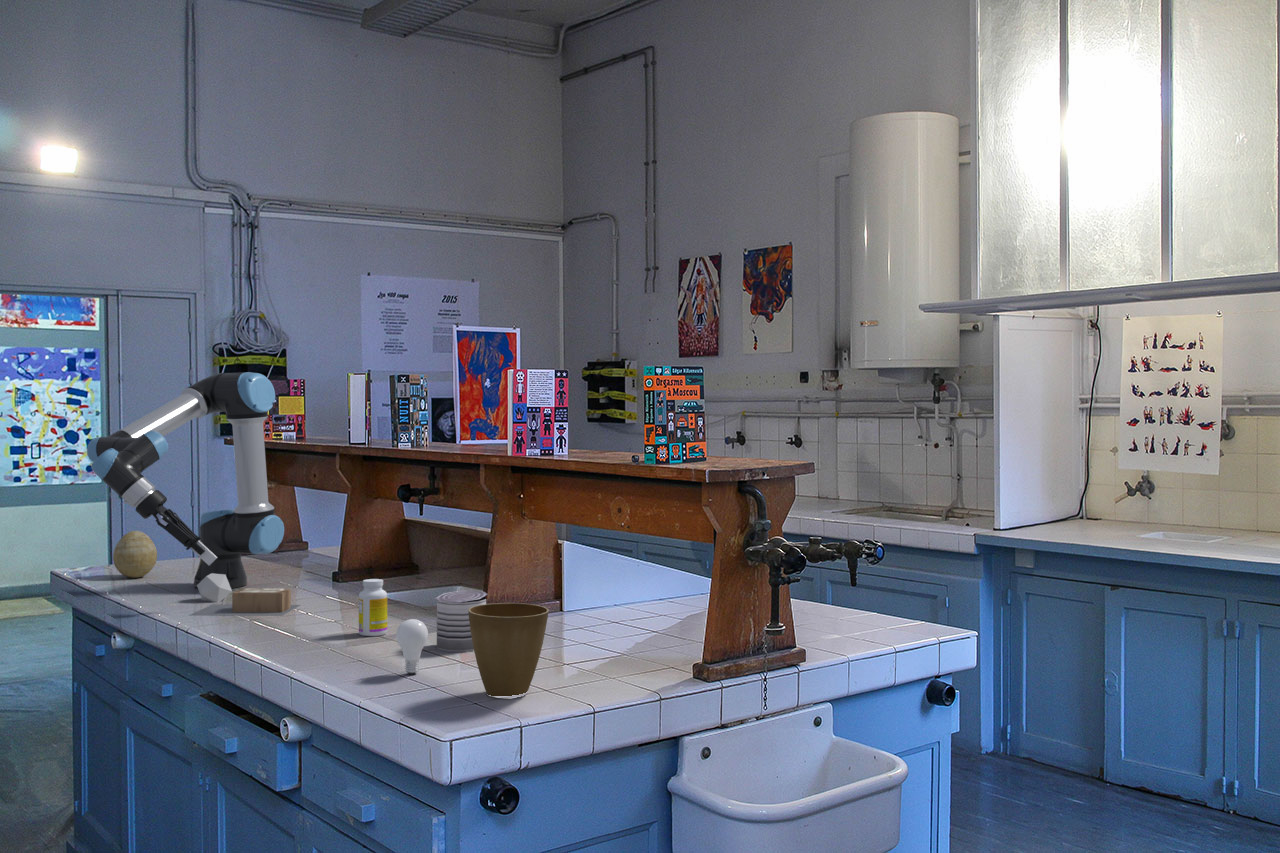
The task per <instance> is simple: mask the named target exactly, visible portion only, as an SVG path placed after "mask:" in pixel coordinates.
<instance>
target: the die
mask: <svg viewBox="0 0 1280 853" xmlns="http://www.w3.org/2000/svg"><path fill="white" fill-rule="evenodd" d="M197 587H198V588H197V590H198V592H199V594H200V597H201V599H202V601H203V602H211V603H219V602H222V601H223V600H225V599H226V598H227V597H228V596H229V595H230V594H232V593H233V590H232V588H231V587H230V585H229V582H228V580H227V577H226V575H225V574H213V573H211V574H209V575H208V576H206V577H205V578H204V579H203V580H202V581H201V582H200V583H199V584H198V585H197Z"/></svg>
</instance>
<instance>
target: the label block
mask: <svg viewBox="0 0 1280 853" xmlns="http://www.w3.org/2000/svg"><path fill="white" fill-rule="evenodd" d="M291 591H292V589H291V588H240V589H239V590H236V591H234V592H231V595H232V596H231V598H232V599H231V600H232V601H231V603H232V604H231V605H232V612H284V611H286V610H288V609H289V608H291V605H292V602H291V599H292V598H291V595H292V593H291Z"/></svg>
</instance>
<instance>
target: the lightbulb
mask: <svg viewBox="0 0 1280 853" xmlns="http://www.w3.org/2000/svg"><path fill="white" fill-rule="evenodd" d="M395 639H396V643H397V644H398V647H400V649H401V651H402V654H403V658H404V664H405V668H404V669H405V670H404V672H405V673H407V674H409V675H415V674H416V673H418V672H419V670H420V668H419V667H420V666H419V664H420V658H421V654H422V650H423V648H424V647H425V646H426V645H427V642H428V639H429V630H428V628H427V626H426V624H425V623H424V622H423V621H421V620H419V619H416V618H410V619H406V620H405V621H402V623H400V624H399V625H398V627H397V629H396V633H395Z"/></svg>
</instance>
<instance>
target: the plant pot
mask: <svg viewBox="0 0 1280 853" xmlns="http://www.w3.org/2000/svg"><path fill="white" fill-rule="evenodd" d="M549 612H550V611H549V608H547V607H546V606H542V605H538V604H533V603H521V602H520V603H519V602H499V603H498V602H497V603H486V604H484V605H477V606H473V607H471V608H469V609H468V613H469V622H470V630H471V637H472V642H473V647H474V651H473V652H474V656H475V660H476V664H477V665H476V666H477V669H478V672H479V675H480V678H481V682H482V684H483V687H484V690H485V693H486V695H487V694H488V695H491V696H512V695H519V694H523V693H526V692H527V691H529V689H530V686H531V683H532V682H533V679H534V676H535V672H536V669H537V667H538V662H539V660H540V656H541V653H542V648H543V644H544V639H545V636H546V630H547V625H548V618H549ZM527 693H528V692H527ZM488 695H487V696H488Z"/></svg>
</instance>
